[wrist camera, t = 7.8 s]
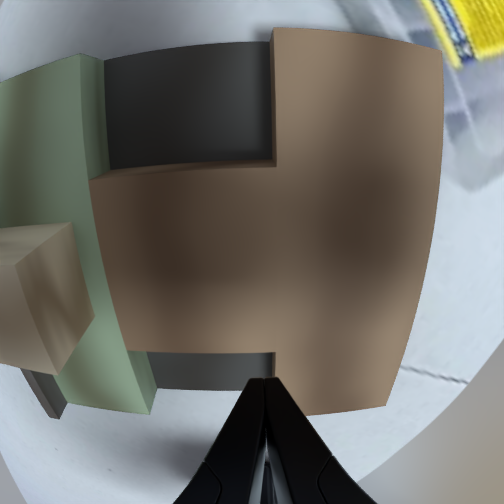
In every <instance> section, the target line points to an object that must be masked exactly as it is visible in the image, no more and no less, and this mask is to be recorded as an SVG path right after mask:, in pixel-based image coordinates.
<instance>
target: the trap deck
mask: <svg viewBox="0 0 504 504" xmlns="http://www.w3.org/2000/svg"><path fill="white" fill-rule="evenodd" d="M443 123H444V84H443V61H442V51H440V50H437V49H433V48H429V47H425V46H421V45H417V44H412V43H408V42H403V41H398V40H393V39H388V38H382V37H377V36H370V35H364V34H357V33H349V32H340V31H330V30H319V29H304V28H273V31H272V35H271V38H270V42H235V43H217V44H205V45H194V46H185V47H177V48H169V49H162V50H156V51H149V52H144V53H138V54H133V55H128V56H123V57H118V58H113V59H109V60H105V61H104V60H100V59H97V58H94V57H91V56H87V55H84V54H77V55H73V56H70V57H67V58H64V59H61V60H58V61H55V62H52V63H49V64H46V65H43V66H40V67H38V68H35V69H32V70H30V71H27V72H25V73H22V74H20V75H17V76H15V77H12V78H10V79H8V80H5V81H3V82H1V83H0V228H8V227H18V226H29V225H40V224H52V223H64V222H72V226H73V231H74V236H75V241H76V246H77V250H78V255H79V259H80V263H81V267H82V271H83V275H84V279H85V283H86V286H87V290H88V294H89V297H90V301H91V304H92V308H93V311H94V314H95V318H94V319H93V321H92V322H91V324H90V325H89V327H88V328H87V330H86V331H85V333H84V334H83V336H82V338H81V339H80V341H79V342H78V344H77V346H76V347H75V349H74V350H73V352H72V354H71V355H70V357H69V359H68V360H67V362H66V363H65V365H64V367H63V368H62V370H61V372H60V374H59V375H52V374H47V373H42V372H37V371H32V370H27V369H23V368H20V369H21V371H22V373H23V375H24V376H25V378H26V380H27V382H28V383H29V385H30V387H31V389H32V390H33V392H34V394H35V395H36V397H37V399H38V400H39V402H40V403H41V405H42V407H43V408H44V410H45V411H46V413H47V414H48V416H49V417H51V418H55V419H60V417H61V415H62V413H63V411H64V409H65V407H66V405H67V403H72V404H77V405H83V406H88V407H94V408H100V409H107V410H114V411H121V412H129V413H137V414H147V415H150V412H151V408H152V405H153V401H154V398H155V394H156V391H157V388H162V389H180V390H212V391H243V389H244V387H245V385H246V384H247V382H248V380H249V379H250V378H256V377H262V378H263V379H264V378H265V377H278V378H279V379H280V380H281V381H282V383H283V384H284V386H285V387H286V389H287V390H288V392H289V393H290V395H291V396H292V398H293V399H294V400H295V402H296V403H297V405H298V406H299V408H300V409H301V411H302V412H303V413H304V415H305V416H311V415H321V414H331V413H340V412H348V411H355V410H362V409H369V408H375V407H381V406H386V403H387V400H388V398H389V395H390V393H391V390H392V387H393V384H394V382H395V379H396V376H397V373H398V370H399V367H400V364H401V361H402V358H403V355H404V352H405V349H406V346H407V342H408V339H409V336H410V332H411V329H412V325H413V322H414V318H415V314H416V310H417V306H418V303H419V299H420V294H421V290H422V286H423V282H424V277H425V272H426V268H427V263H428V258H429V252H430V247H431V241H432V236H433V230H434V223H435V216H436V209H437V202H438V193H439V184H440V174H441V162H442V147H443Z"/></svg>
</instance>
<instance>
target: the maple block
mask: <svg viewBox="0 0 504 504" xmlns="http://www.w3.org/2000/svg"><path fill="white" fill-rule="evenodd" d="M94 318H95V314H94V311H93V308H92V304H91V301H90V297H89V294H88V290H87V286H86V283H85V279H84V275H83V271H82V267H81V263H80V259H79V255H78V250H77V246H76V241H75V236H74V231H73V226H72V222H64V223H52V224H40V225H29V226H18V227H8V228H0V363H2V364H6V365H10V366H14V367H18V368H23V369H27V370H32V371H37V372H42V373H47V374H52V375H59V374H60V372H61V370H62V368H63V367H64V365H65V363H66V362H67V360H68V359H69V357H70V355H71V354H72V352H73V350H74V349H75V347H76V346H77V344H78V342H79V341H80V339H81V338H82V336H83V334H84V333H85V331H86V330H87V328H88V327H89V325H90V324H91V322H92V321H93V319H94Z"/></svg>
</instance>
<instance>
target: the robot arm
mask: <svg viewBox="0 0 504 504" xmlns="http://www.w3.org/2000/svg"><path fill="white" fill-rule="evenodd" d="M266 440H267V449H268V455H269V460H270V463H265V453H266ZM264 463H265V464H264ZM173 504H377V503H376V502H375V501H374V500H373V499H372V498H371V497H370V496H369V495H368V494H367V493H365V491H364V490H363V489H361V487H359V485H358V484H357V483H356V482H355V481H354V480H353V479H352V478H351V477H350V476H349V475H348V473H347V472H346V471H345V470H344V468H343V467H342V466H341V465H340V463H339V462H338V461H337V459H336V458H335V456H332V453H331V451H330V450H329V448H328V447H327V446H326V444H325V443H324V442H323V440H322V439H321V437H320V436H319V435H318V433H317V432H316V430H315V429H314V428H313V426H312V425H311V423H310V422H309V420H308V419H307V418H306V416H305V415H304V413H303V412H302V411H301V409H300V408H299V406H298V405H297V403H296V402H295V400H294V399H293V398H292V396H291V395H290V393H289V392H288V390H287V389H286V387H285V386H284V384H283V383H282V381H281V380H280V379H279V378H278V377H265V378H264V379H263V378H262V377H256V378H250V379H249V380H248V382H247V384H246V385H245V387H244V389H243V391H242V393H241V395H240V396H239V398H238V400H237V402H236V404H235V406H234V407H233V409H232V411H231V413H230V415H229V416H228V418H227V420H226V422H225V424H224V425H223V427H222V429H221V431H220V432H219V434H218V436H217V438H216V439H215V441H214V443H213V445H212V446H211V448H210V450H209V452H208V453H207V455H206V457H205V458H204V462H202V463H201V465H200V467H199V468H198V470H197V472H196V473H195V475H194V476H193V478H192V479H191V481H190V482H189V484H188V485H187V487H186V488H185V489H184V490H183V492H182V493H181V494H180V495H179V497H178V498H177V499H176V500H175V501H174V503H173Z"/></svg>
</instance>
